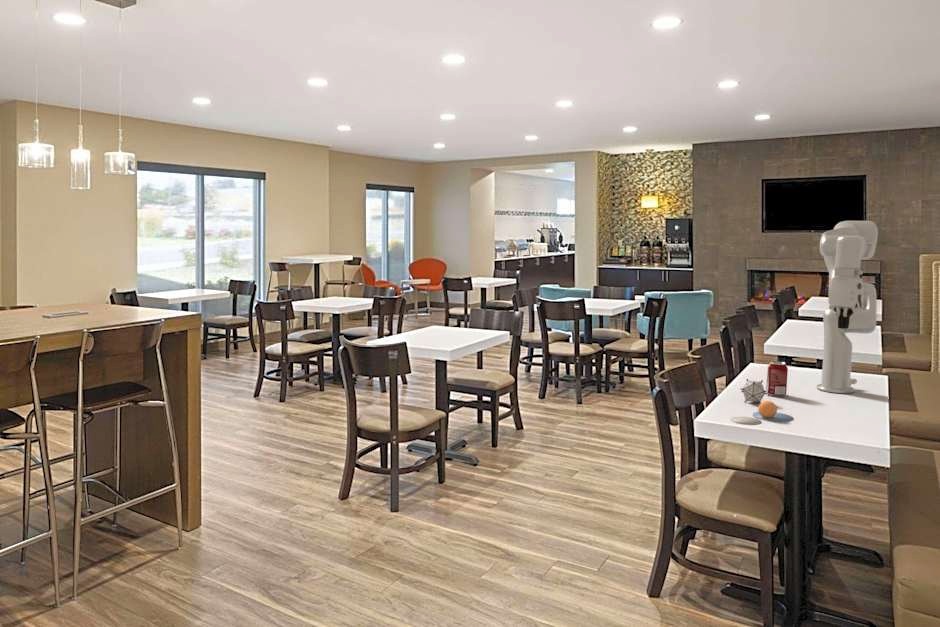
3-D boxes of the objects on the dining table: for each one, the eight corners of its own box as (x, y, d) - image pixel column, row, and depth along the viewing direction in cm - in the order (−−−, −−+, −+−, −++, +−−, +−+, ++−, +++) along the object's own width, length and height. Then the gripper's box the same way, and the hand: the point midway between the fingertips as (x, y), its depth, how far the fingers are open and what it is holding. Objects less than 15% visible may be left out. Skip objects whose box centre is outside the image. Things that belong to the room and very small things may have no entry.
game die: (746, 412, 251) (732, 386, 255) (768, 403, 252) (754, 378, 256) (752, 405, 243) (738, 378, 247) (776, 396, 244) (761, 370, 248)
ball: (752, 404, 229) (756, 419, 231) (766, 408, 224) (771, 423, 226) (764, 396, 231) (768, 410, 233) (778, 399, 226) (782, 414, 228)
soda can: (788, 397, 258) (790, 364, 257) (767, 396, 259) (769, 363, 258) (783, 393, 265) (785, 361, 263) (764, 392, 266) (766, 360, 265)
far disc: (744, 415, 231) (744, 415, 231) (767, 422, 223) (767, 422, 223) (723, 418, 227) (724, 418, 227) (746, 425, 219) (746, 425, 219)
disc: (770, 410, 238) (770, 410, 238) (801, 419, 228) (801, 418, 228) (744, 414, 233) (744, 413, 233) (774, 423, 222) (774, 422, 222)
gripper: (875, 274, 234) (871, 330, 236) (834, 272, 247) (830, 325, 249) (860, 274, 231) (856, 331, 233) (819, 272, 244) (816, 326, 246)
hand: (843, 328), depth 241 cm, fingers closed
